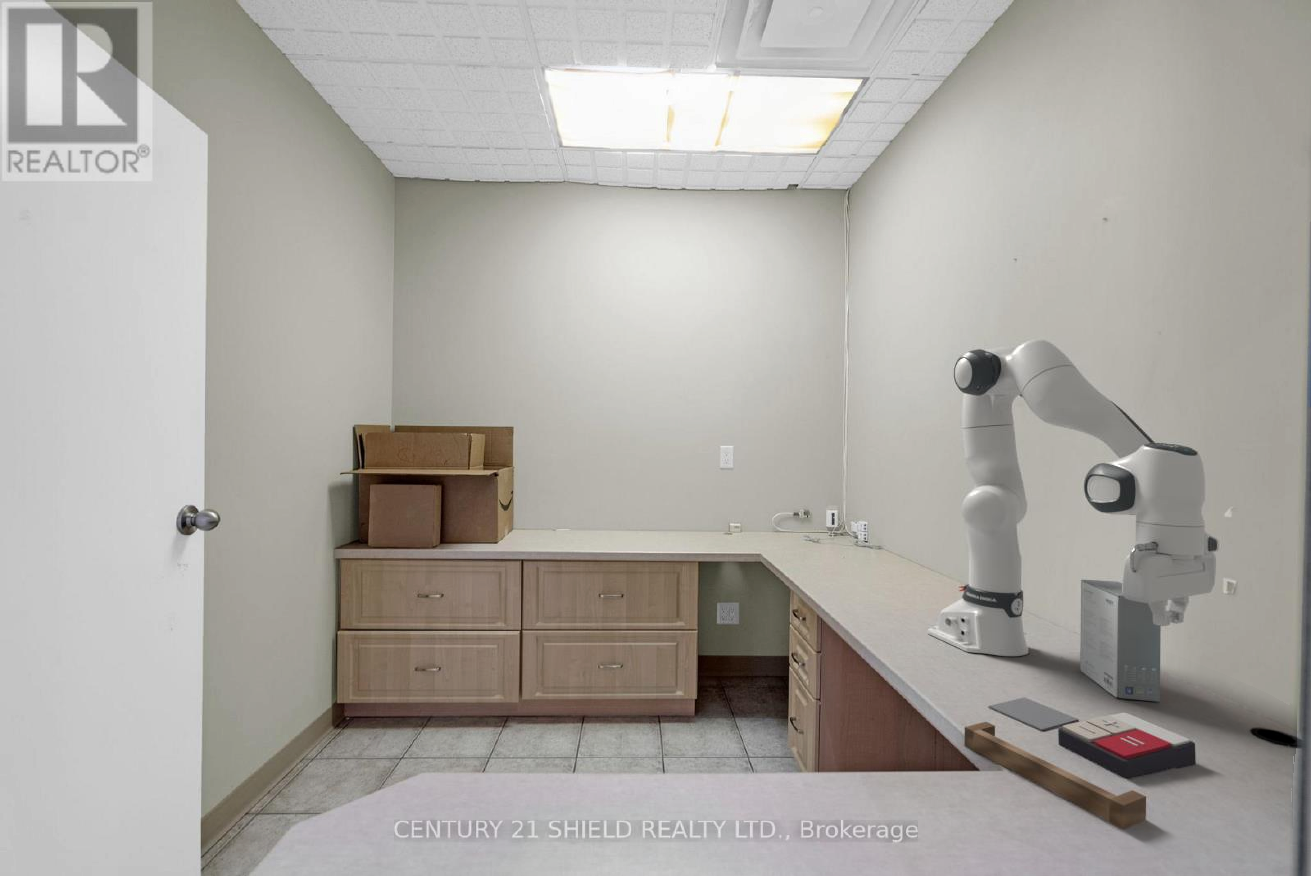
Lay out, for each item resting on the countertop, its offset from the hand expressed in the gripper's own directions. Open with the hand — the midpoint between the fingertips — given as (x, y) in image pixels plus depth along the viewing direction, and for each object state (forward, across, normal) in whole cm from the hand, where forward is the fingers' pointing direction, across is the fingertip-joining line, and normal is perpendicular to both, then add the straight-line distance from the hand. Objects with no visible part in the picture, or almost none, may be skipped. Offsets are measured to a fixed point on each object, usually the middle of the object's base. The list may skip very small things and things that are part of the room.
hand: (1168, 623), depth 103 cm
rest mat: (+19, -12, +15) cm, 27 cm away
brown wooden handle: (+19, -31, 0) cm, 36 cm away
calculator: (+20, -12, 0) cm, 23 cm away
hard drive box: (+19, +17, +17) cm, 31 cm away
